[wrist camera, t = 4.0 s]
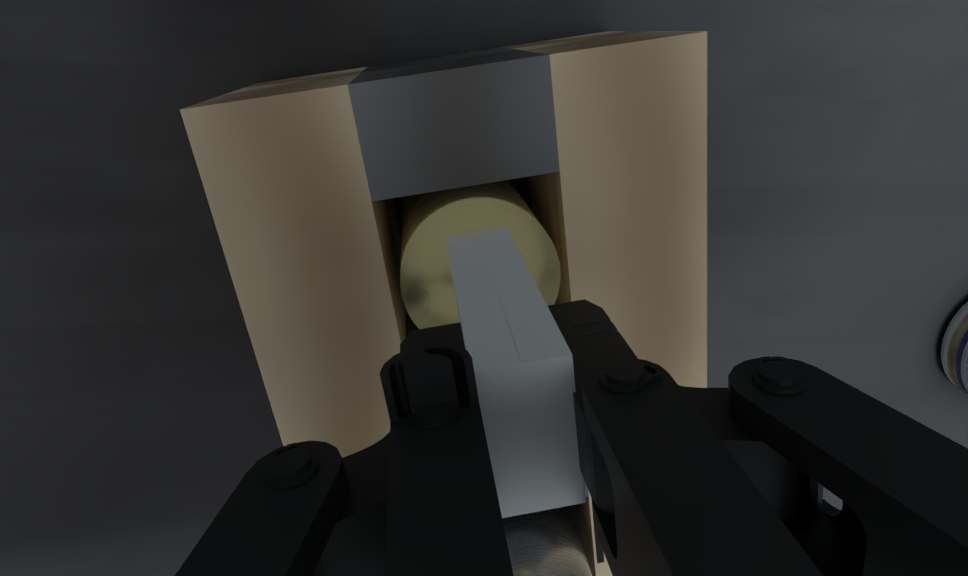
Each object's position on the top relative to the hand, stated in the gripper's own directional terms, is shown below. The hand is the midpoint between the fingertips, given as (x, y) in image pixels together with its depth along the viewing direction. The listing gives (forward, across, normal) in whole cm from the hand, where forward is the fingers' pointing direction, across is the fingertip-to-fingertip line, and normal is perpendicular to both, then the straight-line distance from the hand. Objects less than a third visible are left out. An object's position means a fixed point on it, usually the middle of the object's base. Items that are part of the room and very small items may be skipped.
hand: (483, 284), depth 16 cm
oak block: (+9, 0, -5) cm, 10 cm away
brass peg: (+8, 0, 0) cm, 8 cm away
